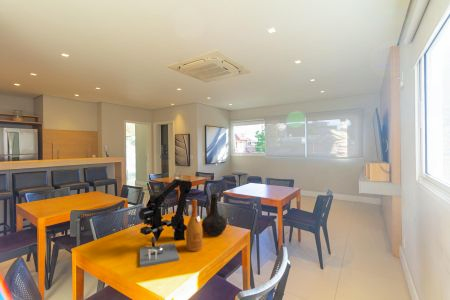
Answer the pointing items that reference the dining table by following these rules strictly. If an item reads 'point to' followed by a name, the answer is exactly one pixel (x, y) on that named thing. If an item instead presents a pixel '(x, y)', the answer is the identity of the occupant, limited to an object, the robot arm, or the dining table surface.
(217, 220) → the glass bottle
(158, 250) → the grey metal rounded piece
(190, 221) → the brown tall rounded piece
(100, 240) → the dining table surface
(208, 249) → the dining table surface
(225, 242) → the dining table surface
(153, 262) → the stand
